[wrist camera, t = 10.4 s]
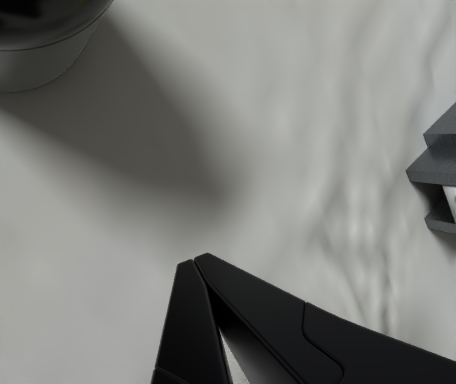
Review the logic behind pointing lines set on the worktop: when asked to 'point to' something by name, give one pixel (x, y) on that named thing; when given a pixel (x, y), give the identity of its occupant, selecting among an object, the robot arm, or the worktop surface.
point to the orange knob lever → (451, 198)
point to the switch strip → (438, 167)
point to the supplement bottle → (43, 38)
